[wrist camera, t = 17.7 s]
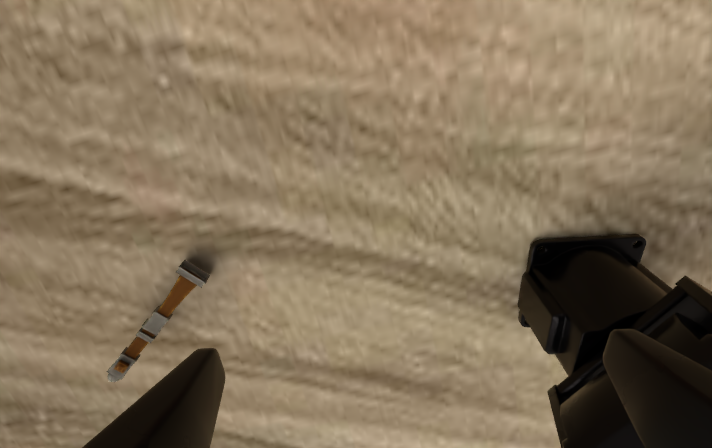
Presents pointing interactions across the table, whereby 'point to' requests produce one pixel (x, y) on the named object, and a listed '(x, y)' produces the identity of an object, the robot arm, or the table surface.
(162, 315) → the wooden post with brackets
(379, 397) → the table surface
